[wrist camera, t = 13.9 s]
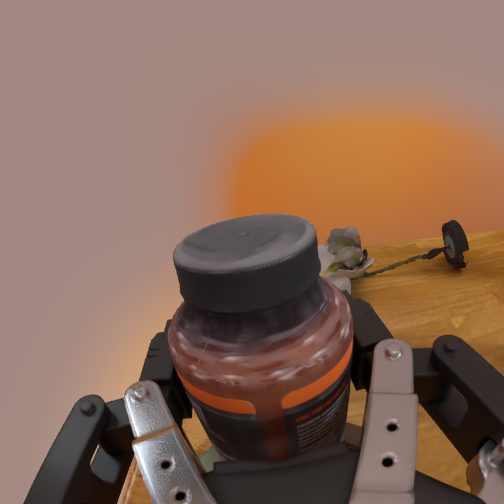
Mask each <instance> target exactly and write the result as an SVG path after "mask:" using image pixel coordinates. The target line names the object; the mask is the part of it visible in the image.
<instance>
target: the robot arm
mask: <svg viewBox="0 0 504 504" xmlns="http://www.w3.org/2000/svg"><path fill="white" fill-rule="evenodd" d="M341 292H342V293H343V294H344V296H345V297H346V300H347V301H348V304H349V306H350V309H351V313H352V318H353V361H352V369H351V380H352V382H353V384H354V386H355V389H356V391H357V390H361V389H364V388H365V390H366V392H367V398H366V405H365V411H364V417H363V423H362V429H361V435H360V440H359V444H358V448H348V446H347V443H346V440H344V441H340V442H336V443H332V444H328V445H324V446H320V447H316V448H313V449H310V450H308V451H306V452H303V453H301V454H299V455H296V456H294V457H292V458H289V459H287V460H284V461H280V462H276V461H261V460H249V459H242V460H232V461H219V462H213V470H212V471H209V472H207V471H206V470H205V468H204V467H203V465H202V463H201V461H200V460H199V458H198V456H197V454H196V452H195V451H194V449H193V447H192V445H191V443H190V441H189V439H188V437H187V435H186V433H185V431H184V430H183V428H182V421H183V419H186V418H192V409H193V406H192V404H191V402H190V400H189V398H188V396H187V394H186V392H185V389H184V388H183V385H182V381H181V379H180V378H179V376H178V373H177V371H176V369H175V366H174V364H173V361H172V357H171V355H170V351H169V345H168V331H169V327H170V324H171V321H172V319H170V320H168V321H167V323H166V327H165V330H164V332H160V333H157V334H156V336H155V337H154V338H153V339H152V340H151V343H150V346H149V351H148V352H147V356H146V357H147V358H146V359H145V362H144V366H143V369H142V372H141V376H140V379H139V382H136V383H135V384H133V385H131V386H130V387H129V388H128V389H127V390H126V392H125V394H124V398H121V399H118V400H114V401H110V402H107V403H105V402H104V400H103V399H102V398H101V397H100V396H98V395H87V396H84V397H82V398H81V399H79V400H78V401H77V403H76V404H75V405H74V407H73V408H72V410H71V412H70V414H69V415H68V417H67V419H66V421H65V423H64V424H63V426H62V428H61V430H60V432H59V433H58V435H57V437H56V439H55V441H54V443H53V445H52V446H51V448H50V450H49V452H48V454H47V456H46V458H45V460H44V462H43V464H42V466H41V468H40V470H39V472H38V474H37V476H36V478H35V480H34V482H33V484H32V486H31V488H30V490H29V493H28V495H27V497H26V499H25V501H24V503H23V504H117V502H118V499H119V496H120V493H121V490H122V488H123V485H124V482H125V479H126V476H127V473H128V470H129V468H130V465H131V462H132V459H133V457H134V454H135V456H136V459H137V462H138V465H139V468H140V471H141V474H142V476H143V479H144V482H145V484H146V487H147V489H148V492H149V494H150V497H151V499H152V502H153V504H504V376H503V375H502V374H500V373H499V372H498V371H497V370H496V369H495V368H494V367H493V366H492V365H491V364H489V363H488V362H487V361H486V360H485V359H484V358H483V357H482V356H481V355H479V354H478V353H477V352H476V351H475V350H474V349H473V348H471V347H470V346H469V345H468V344H467V343H466V342H465V341H463V340H462V339H461V338H459V337H457V336H454V335H443V336H440V337H438V338H437V339H436V340H435V341H434V343H433V347H432V348H420V349H413V348H411V347H410V345H409V344H408V343H406V342H405V341H403V340H400V339H394V337H393V336H392V335H391V333H390V332H389V330H388V329H387V328H386V326H385V325H384V323H383V322H382V321H381V319H380V318H379V316H378V315H377V314H376V312H375V311H374V310H373V308H372V307H371V305H370V304H369V303H367V302H365V301H364V300H362V299H360V298H359V299H355V300H354V299H353V298H352V297H351V295H350V294H349V292H348V291H347V290H341ZM454 387H455V388H456V389H457V390H458V391H459V392H458V391H457V390H456V389H455V388H454ZM461 395H462V396H463V397H464V398H465V399H466V400H465V399H464V398H463V397H462V396H461ZM418 403H420V404H421V405H422V407H423V408H424V409H425V410H426V412H427V413H428V414H429V415H430V416H431V418H432V419H433V420H434V421H435V423H436V424H437V425H438V426H439V428H440V429H441V430H442V431H443V433H444V434H445V435H446V436H447V438H448V439H449V440H450V442H451V443H452V444H453V445H454V447H455V448H456V449H457V450H458V452H459V453H460V454H461V456H462V457H463V458H464V459H465V461H466V462H467V463H468V466H467V469H466V478H467V484H468V485H469V486H470V493H468V492H465V491H463V490H460V489H458V488H455V487H453V486H450V485H448V484H446V483H443V482H441V481H439V480H436V479H434V478H432V477H430V476H427V475H425V474H423V473H421V472H419V471H417V470H415V467H416V454H417V438H418ZM97 445H99V448H98V450H97V452H96V455H95V457H94V459H93V461H92V464H91V466H90V462H91V459H92V457H93V454H94V452H95V450H96V448H97Z"/></svg>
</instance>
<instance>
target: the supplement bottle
mask: <svg viewBox="0 0 504 504" xmlns="http://www.w3.org/2000/svg"><path fill="white" fill-rule="evenodd" d="M317 244H318V242H317V235H316V230H315V228H314V226H313V225H312V224H311V223H310V222H308V221H307V220H305V219H302V218H299V217H296V216H291V215H284V214H263V215H251V216H245V217H239V218H235V219H229V220H225V221H221V222H218V223H215V224H212V225H209V226H207V227H204V228H202V229H200V230H198V231H196V232H194V233H192V234H191V235H188V236H187V237H186V238H184V239H183V240H182V241H181V242H180V243H179V244H178V245H177V246H176V248H175V250H174V252H173V260H174V265H175V268H176V271H177V275H178V280H179V283H180V293H181V295H182V296H183V298H184V302H183V303H181V305H180V307H179V308H178V309H177V311H176V312H175V314H174V315H173V318H172V321H171V324H170V327H169V331H168V345H169V351H170V355H171V357H172V361H173V364H174V366H175V369H176V371H177V373H178V376H179V378H180V379H181V381H182V385H183V388H184V389H185V392H186V394H187V396H188V398H189V400H190V402H191V404H192V406H193V408H194V410H195V412H196V414H197V416H198V418H199V420H200V422H201V424H202V426H203V428H204V429H205V431H206V433H207V435H208V437H209V439H210V441H211V443H212V445H213V446H214V448H215V450H216V452H217V453H218V455H219V457H220V458H221V460H222V461H232V460H242V459H249V460H261V461H276V462H280V461H284V460H287V459H289V458H292V457H294V456H296V455H299V454H301V453H303V452H306V451H308V450H310V449H313V448H316V447H320V446H324V445H328V444H332V443H336V442H340V441H344V434H345V427H346V419H347V411H348V402H349V394H350V382H351V369H352V361H353V318H352V313H351V309H350V306H349V304H348V301H347V300H346V297H345V296H344V294H343V293H342V292H341V290H340V289H339V288H338V287H337V286H336V285H334V284H333V283H331V282H330V281H329V280H327V279H326V278H324V277H322V276H320V275H319V274H320V272H321V262H320V259H319V257H318V245H317Z"/></svg>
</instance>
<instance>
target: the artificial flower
mask: <svg viewBox="0 0 504 504" xmlns="http://www.w3.org/2000/svg"><path fill="white" fill-rule="evenodd" d="M442 232H443V239H444V245H445V247H443V248H439V249H436V248H435V249H433V250H431V251H430V252H428V254H424V255H422V256H420V255H418V256H415V257H412V258H409V259H408V260H405V261H404V262H399V263H397V264H393V265H390V266H389V267H387V268H384V269H381V270H378V271H375V272H372V273H367V272H366V270H367V269H368V268H370V267H371V266H372V263H373V262H374V260H375V258H372V259H369V260H367V250H366V249H364V250H363V251H362V250H361V244H360V237H359V233H358V230H357V229H355V228H353V227H348V228H345V229H333V230H332V231H331V232H330V235H329V237H328V239H327V241H326V243H327V242H328V244H327V245H328V246H327V245H326V244H325V245H319V246H318V257H319V259H320V262H321V272H320V274H319V275H320V276H322V277H324V278H326V279H327V280H329V281H330V282H331V283H333V284H334V285H336V286H337V287H338V288H339V289H340V290H347V291H348V292H349V294H350V295H351V283H350V279H351V278H352V279H353V280H356V279H360V278H363V277H368V276H371V275H376V274H377V273H382V272H384V271H386V270H390V269H393V268H395V267H397V266H400V265H402V264H407V263H409V262H412V261H415V260H417V259H421V258H422V259H429V260H430V259H432V258H434V257H436V256H437V255H438V254H440V253H441V252H444V255H445V258H446V260H447V261H448V262H451V263H452V265H454V266H455V267H456V268H463V267H464V268H465V267H466V266H467V264H466V263H464V261H463V260H464V256H463V252H465V251H467V250H469V246H468V242H467V238H466V235H465V233H464V231H463V229H462V227H461V226H460V224H459V223H458V222H456V221H455V220H451V221H449V222H448V223H445V224H444V225H443V226H442ZM462 251H463V252H462ZM467 263H468V262H467ZM465 265H466V266H465Z"/></svg>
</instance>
